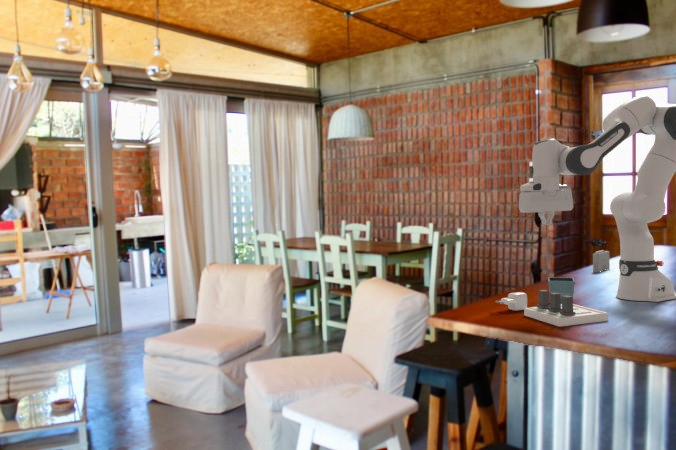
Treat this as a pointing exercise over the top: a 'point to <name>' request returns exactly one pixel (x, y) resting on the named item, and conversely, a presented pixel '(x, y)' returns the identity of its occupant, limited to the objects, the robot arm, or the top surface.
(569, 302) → the handle
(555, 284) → the flower pot
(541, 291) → the far handle
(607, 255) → the cassette player
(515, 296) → the power adapter
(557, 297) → the middle handle
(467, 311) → the top surface
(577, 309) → the panel
